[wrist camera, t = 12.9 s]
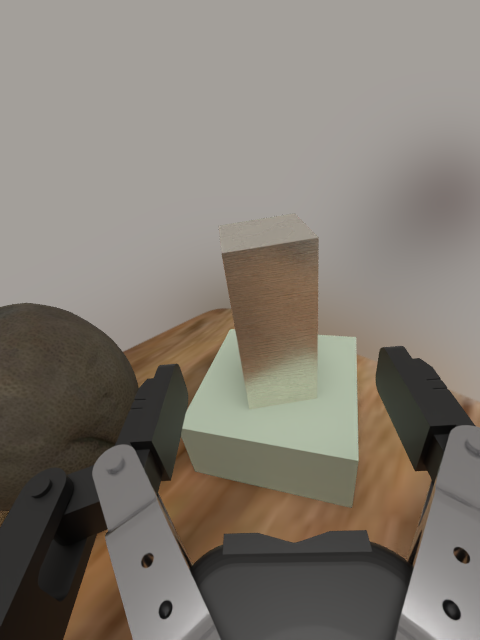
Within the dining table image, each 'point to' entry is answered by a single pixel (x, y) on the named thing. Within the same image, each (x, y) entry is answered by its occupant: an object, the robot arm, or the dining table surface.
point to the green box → (279, 428)
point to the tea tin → (274, 306)
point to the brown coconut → (57, 394)
